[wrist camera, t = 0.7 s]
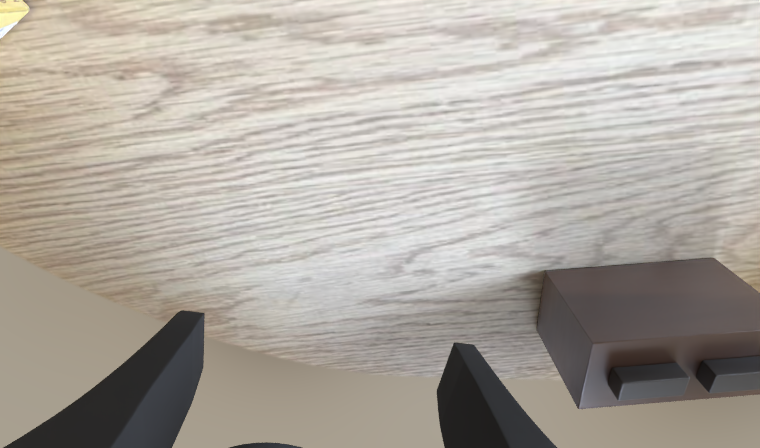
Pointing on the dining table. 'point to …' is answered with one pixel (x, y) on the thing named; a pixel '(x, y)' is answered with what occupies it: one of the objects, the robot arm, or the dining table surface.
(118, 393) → the robot arm
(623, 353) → the knife block
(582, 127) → the dining table surface
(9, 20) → the candy box
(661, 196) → the dining table surface
